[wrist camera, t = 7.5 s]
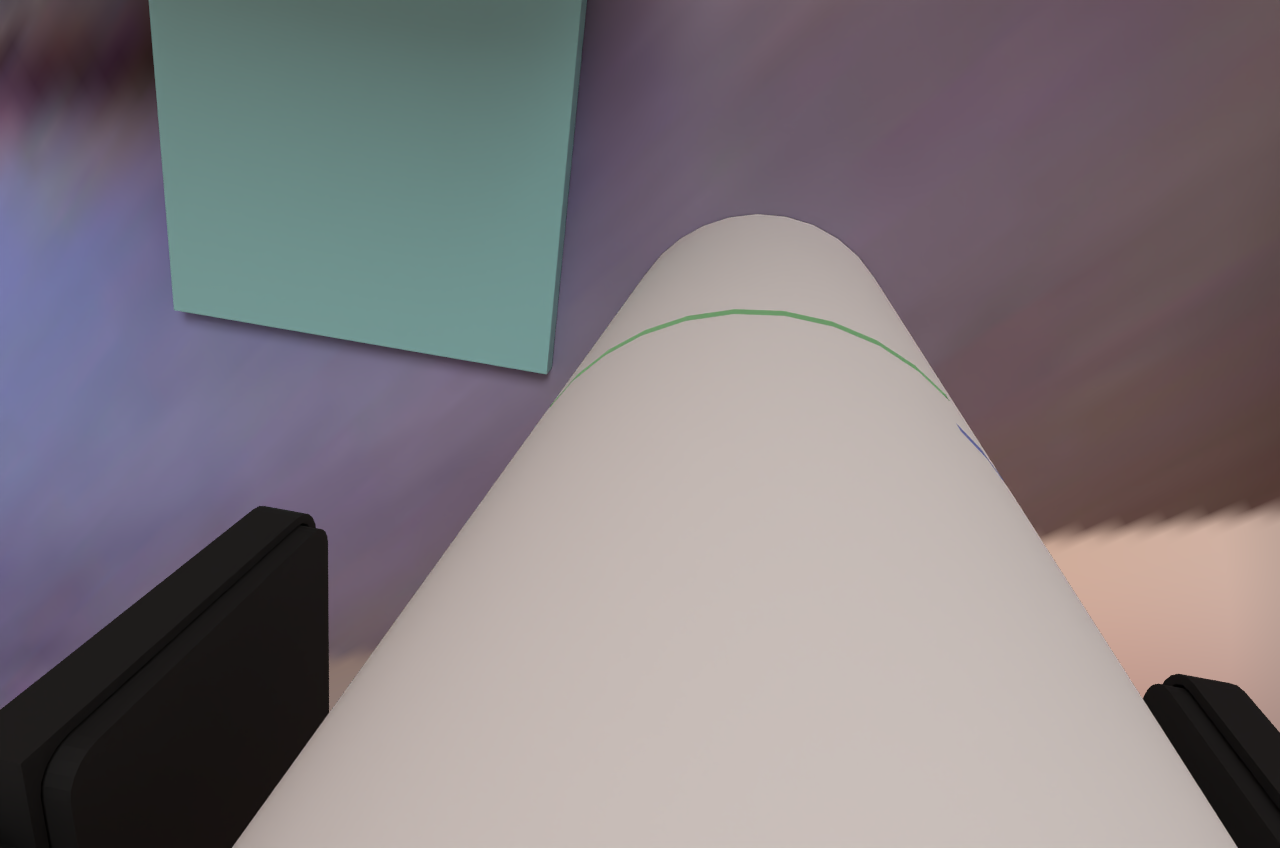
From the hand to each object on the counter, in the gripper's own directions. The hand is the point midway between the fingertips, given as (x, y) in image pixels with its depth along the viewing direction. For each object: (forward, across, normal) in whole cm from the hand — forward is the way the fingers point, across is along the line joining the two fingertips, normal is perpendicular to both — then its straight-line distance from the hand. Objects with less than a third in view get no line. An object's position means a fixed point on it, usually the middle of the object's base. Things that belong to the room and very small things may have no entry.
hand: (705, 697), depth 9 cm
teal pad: (+14, +10, -4) cm, 18 cm away
